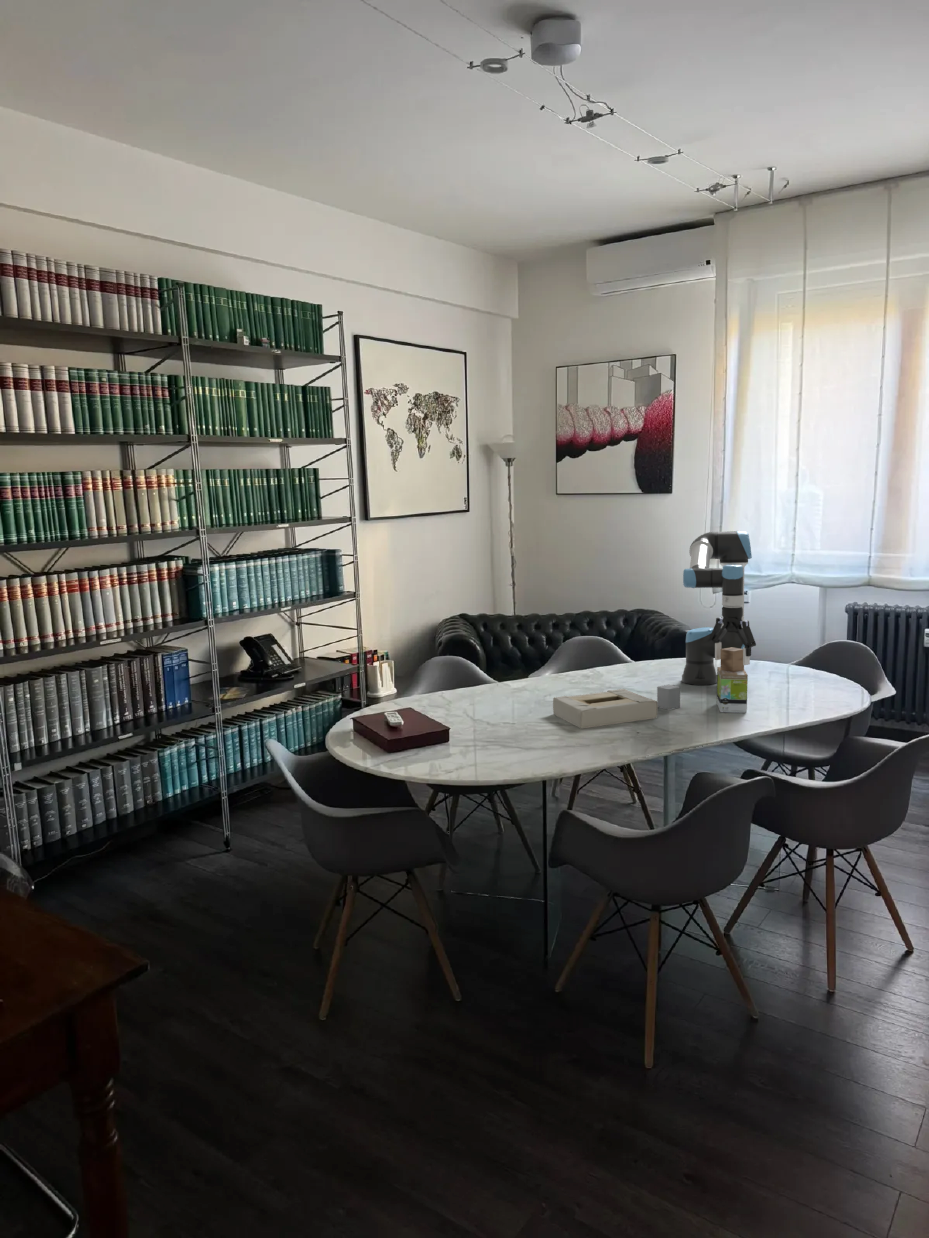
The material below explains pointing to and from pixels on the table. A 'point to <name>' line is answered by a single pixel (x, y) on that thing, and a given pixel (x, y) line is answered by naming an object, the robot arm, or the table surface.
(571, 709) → the box
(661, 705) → the slate block
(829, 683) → the table surface
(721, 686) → the tea box
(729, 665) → the walnut block
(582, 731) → the table surface
